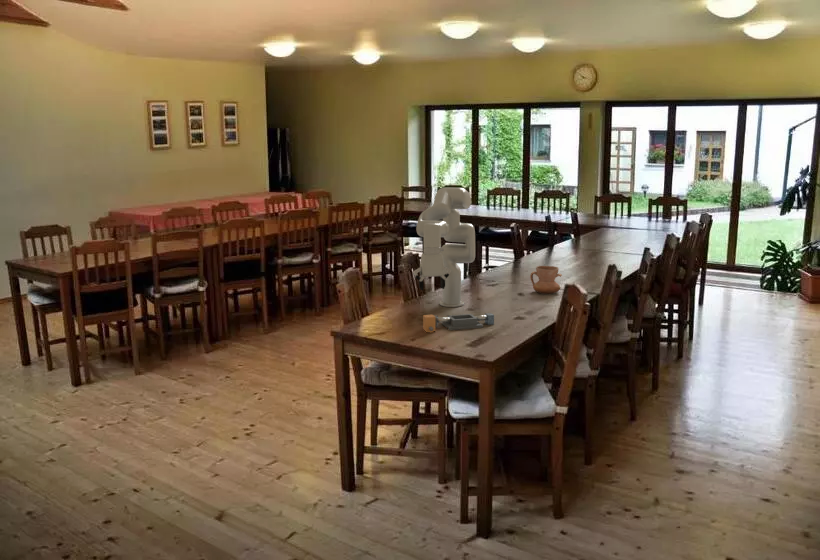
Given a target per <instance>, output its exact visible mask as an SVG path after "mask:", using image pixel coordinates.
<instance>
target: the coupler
mask: <svg viewBox="0 0 820 560" xmlns="http://www.w3.org/2000/svg"><path fill="white" fill-rule="evenodd" d="M435 316H436V315H434V314H424V315H423V314H422V325H423V328H422V329H424V330H425V331H426V332H430V333H434V332H433V331H435V332H436V327H435ZM424 330H423V331H424ZM425 331H424V332H425ZM426 332H425V333H426Z"/></svg>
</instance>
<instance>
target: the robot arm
mask: <svg viewBox="0 0 820 560" xmlns="http://www.w3.org/2000/svg"><path fill="white" fill-rule="evenodd" d="M434 197H435V198H434V201H433V204H432V205H431V206H430V207H428V208H427V209H424V210H423V211H422V212H421V213H420V215H419V217H418V219H417V223H416V228H415V229H416V233H417V235H418V236H419V237H421V238H423V253H421V256H420V263H419V267H418V268H417V269H415V270H413V271H412V273H413V275H414V278H415V279H417V280H418V288H419V289H420V290H421V291H424V281H423V280H424V279H425V278H430V277H431V278H433V277H440V288H441V289H442V300H440V301H439V305H440V306H441V307H445V308H446V307H447V308H457V307H459V308H460V307H462V306H464V305H465V302H464V301H463V300H462V269H461V267H460V266H459V264H471V263H473V262H474V261H475V260H476V259H475V258H476V231H475V226H474V225H473V224H472V223H468V222H466V223H465V222H461V221H460V220H461V216H460V215H461V214H460V211H459V210H467V209H469V208H470V206H471V205H472V204H471V203H472V197H471V194H470V192H469V191H468V190H466V188H463V187H441V188H439V189H438V190H437V192H436V194H435V196H434ZM441 238H443V239H444V240H445V241H446V242H453V243H446V244H444V245H442V244H441V242H442V239H441ZM418 273H419V274H418ZM419 275H420V276H419Z"/></svg>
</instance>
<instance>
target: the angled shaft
mask: <svg viewBox="0 0 820 560" xmlns="http://www.w3.org/2000/svg"><path fill="white" fill-rule="evenodd" d="M434 316H435V328H437V327H438V326H439V323H441V324H442V323H450V318H447V317H443V316H442V317H439V315H434ZM437 325H438V326H437Z"/></svg>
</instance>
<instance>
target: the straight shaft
mask: <svg viewBox="0 0 820 560" xmlns="http://www.w3.org/2000/svg"><path fill="white" fill-rule="evenodd" d="M474 316H475V317H476V318H477V321H478V322H481V321H484V324H486V325H488V326H491V325H492V326H493V325H495V314H493V313H492V312H488V313H484V314H483V315H482V314H481V315H480V314H479V315H474Z"/></svg>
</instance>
